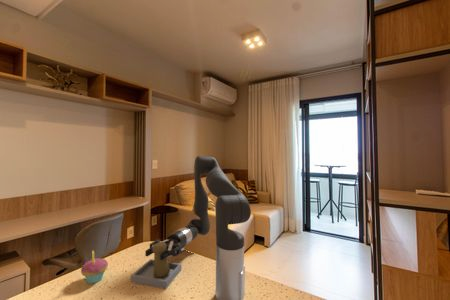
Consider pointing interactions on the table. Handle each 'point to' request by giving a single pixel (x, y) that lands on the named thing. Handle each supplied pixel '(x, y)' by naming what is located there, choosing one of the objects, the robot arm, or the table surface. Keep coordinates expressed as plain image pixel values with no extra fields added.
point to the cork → (160, 266)
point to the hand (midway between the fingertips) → (153, 255)
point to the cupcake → (94, 269)
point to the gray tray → (147, 276)
